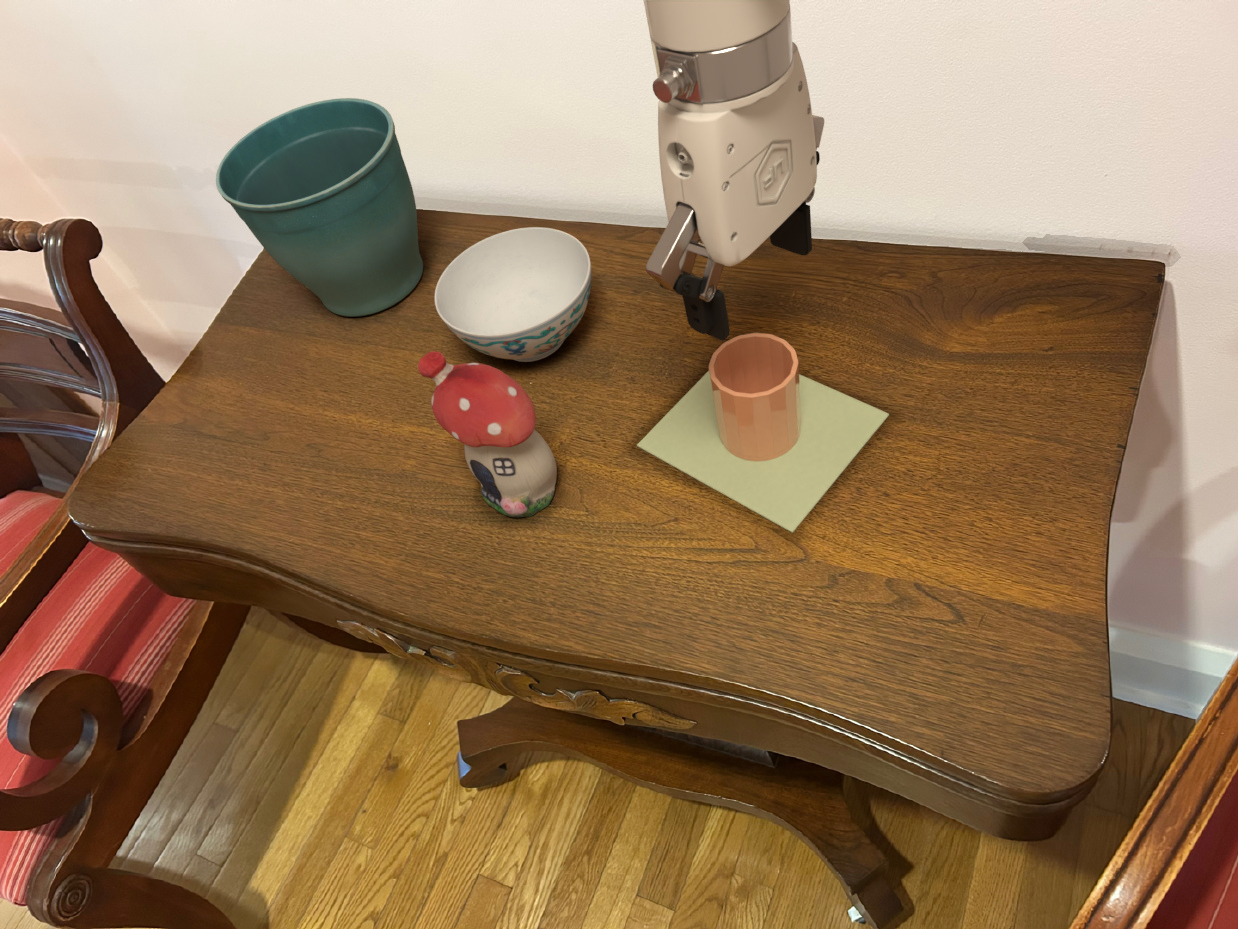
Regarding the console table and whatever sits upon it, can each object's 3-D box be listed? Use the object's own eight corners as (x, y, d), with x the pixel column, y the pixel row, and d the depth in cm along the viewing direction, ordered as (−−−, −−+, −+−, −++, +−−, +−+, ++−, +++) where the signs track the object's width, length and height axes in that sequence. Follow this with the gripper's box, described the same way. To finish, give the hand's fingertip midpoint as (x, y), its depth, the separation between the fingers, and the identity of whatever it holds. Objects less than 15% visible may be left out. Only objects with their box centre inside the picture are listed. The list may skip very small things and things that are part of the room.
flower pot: (480, 240, 97) (426, 100, 84) (397, 351, 88) (321, 214, 75) (357, 224, 104) (288, 93, 91) (268, 325, 95) (178, 196, 82)
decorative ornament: (460, 481, 75) (392, 362, 64) (516, 435, 77) (460, 313, 66) (524, 538, 70) (463, 420, 59) (582, 488, 72) (534, 364, 61)
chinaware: (448, 321, 89) (420, 263, 83) (580, 268, 90) (562, 207, 84) (481, 416, 80) (453, 358, 74) (628, 356, 81) (612, 294, 75)
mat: (889, 415, 71) (889, 413, 71) (792, 533, 66) (792, 532, 65) (733, 346, 79) (733, 344, 79) (636, 446, 74) (636, 445, 74)
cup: (816, 419, 72) (815, 352, 65) (769, 474, 69) (763, 409, 63) (750, 388, 75) (743, 322, 69) (703, 439, 73) (691, 375, 67)
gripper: (677, 151, 42) (720, 387, 55) (868, -17, 48) (865, 232, 61) (569, 120, 46) (633, 347, 59) (758, -31, 52) (778, 205, 65)
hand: (751, 288), depth 60 cm, fingers open, 9 cm apart
